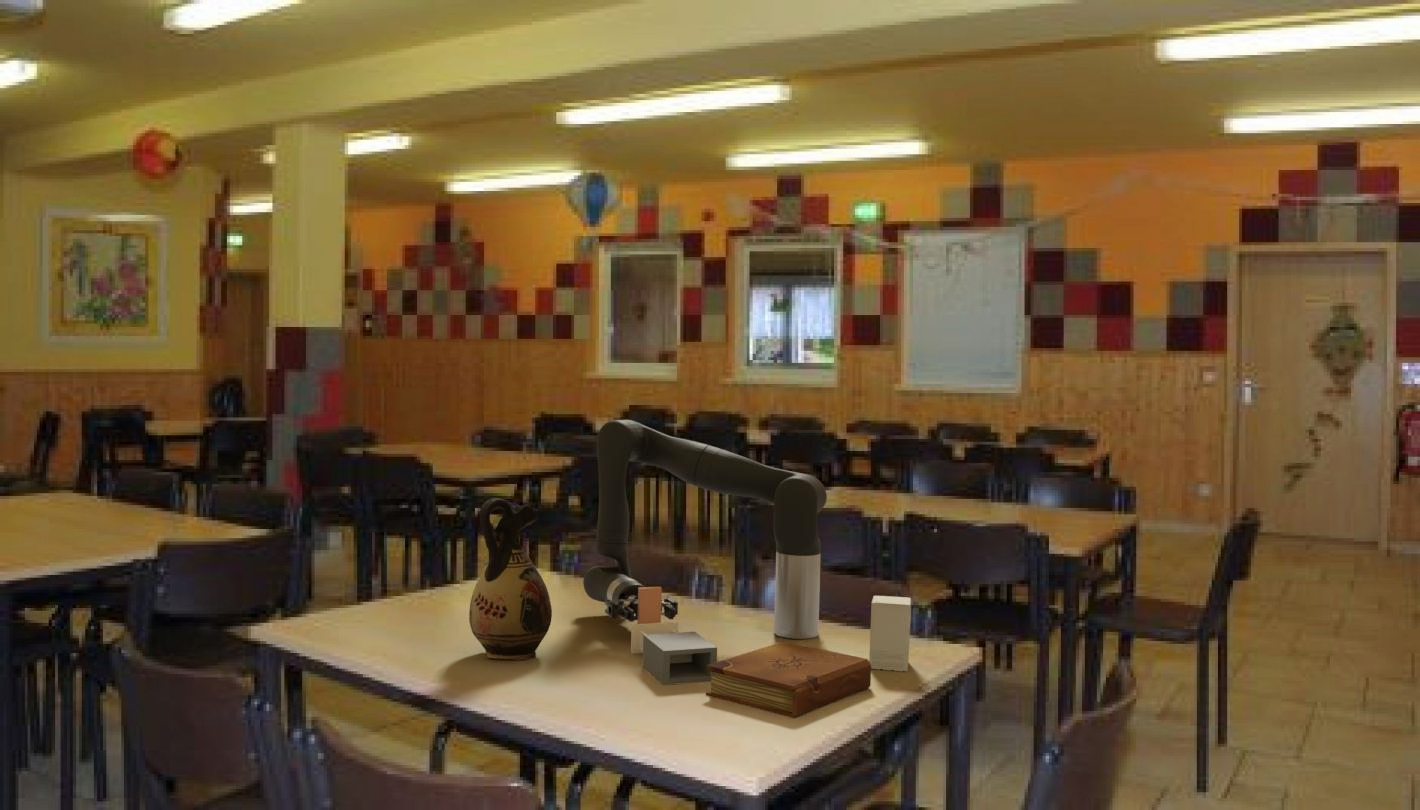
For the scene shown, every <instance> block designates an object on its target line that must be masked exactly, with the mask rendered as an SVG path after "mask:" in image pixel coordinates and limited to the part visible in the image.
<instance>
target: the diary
mask: <svg viewBox="0 0 1420 810" xmlns="http://www.w3.org/2000/svg"><path fill="white" fill-rule="evenodd" d="M868 659H869V658H864V657H859V656H854V655H849V654H845V653H840V652H836V651H832V650H828V649H827V650H826V649H822V648H817V647H812V646H807V645H803V644H798V643H793V642H789V641H786V640H785V641H780V642H777V643H775V644H770V645H768V646H764V647H762V648H758V649H754V650H752V651H749V652H745V653H741V654H739V655H735V656H732V657H729V658H725V659H723V660H719V661H717V662H716V663H713V664H709V665H706V671H710V672H712V675H711V681H710V682H711V683H710V690H709V691H706V692H705V695H706V696H708V697H712V698H716V699H719V700H724V701H728V702H731V703H736V704H739V705H742V706H746V707H749V708H750V707H751V708H755V709H757V710H762V711H766V712H770V713H774V714H778V715H781V716H785V717H789V718H793V719H797V718H798V717H800V716H803V715H805V714H808V713H810V712H814V711H815V710H818V709H821V708H823V707H825V706H828V705H830V704H832V703H836V702H838V701H840V700H843V699H845V698H847V697H849V696H853V695H855V694H858V693H859V692H863V691H865V690H868V689H869V688H870V687H871V685H872V683H871V681H872V669H871V664H870V662H869V660H868ZM864 689H865V690H864ZM862 690H863V691H862ZM852 694H853V695H852Z"/></svg>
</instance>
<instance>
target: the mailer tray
mask: <svg viewBox="0 0 1420 810" xmlns="http://www.w3.org/2000/svg"><path fill="white" fill-rule="evenodd" d="M662 591H663V590H662V586H648V587H647V586H645V587H641V588H638V620H636V621H637V622H636V623H633V624H632V623H631V625H630V627H631V634H630V653H631V654H643V635H648V634H664V633H679V621H669V622H667V621H666V622H662V615H661V599H662V593H663V592H662ZM684 662H692V654H679V655H670V663H684Z"/></svg>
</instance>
